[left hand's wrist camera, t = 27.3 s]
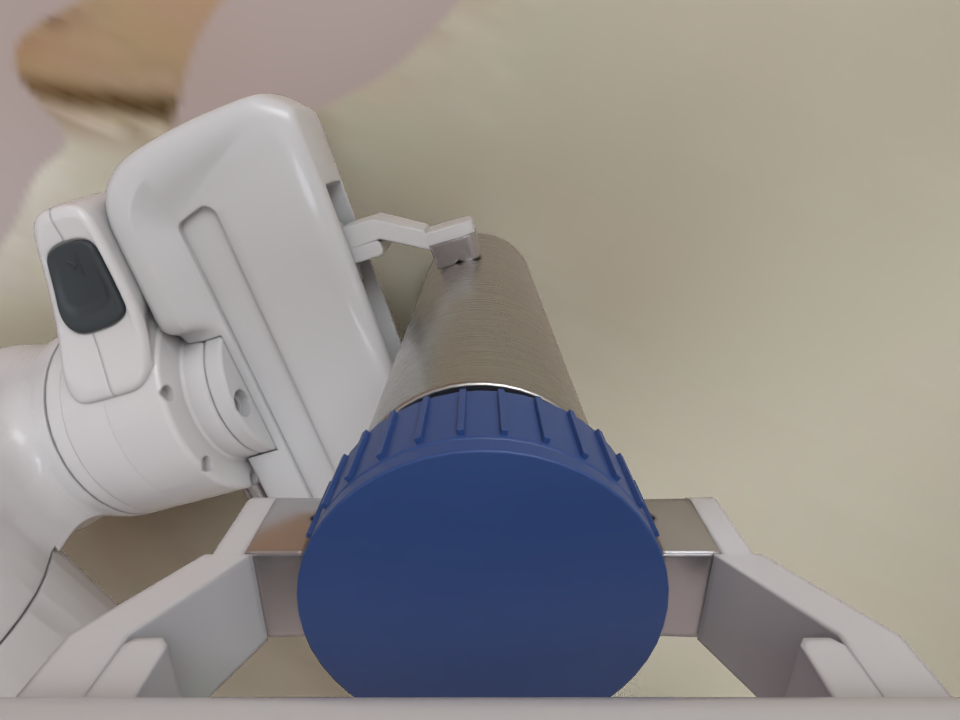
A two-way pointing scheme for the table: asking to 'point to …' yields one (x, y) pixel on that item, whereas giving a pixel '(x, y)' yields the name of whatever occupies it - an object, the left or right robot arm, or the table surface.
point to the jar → (479, 336)
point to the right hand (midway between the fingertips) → (499, 311)
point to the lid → (482, 556)
